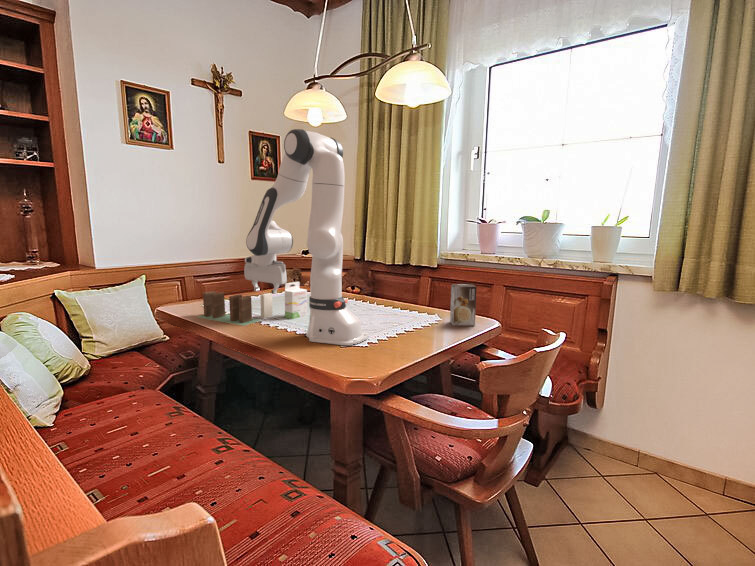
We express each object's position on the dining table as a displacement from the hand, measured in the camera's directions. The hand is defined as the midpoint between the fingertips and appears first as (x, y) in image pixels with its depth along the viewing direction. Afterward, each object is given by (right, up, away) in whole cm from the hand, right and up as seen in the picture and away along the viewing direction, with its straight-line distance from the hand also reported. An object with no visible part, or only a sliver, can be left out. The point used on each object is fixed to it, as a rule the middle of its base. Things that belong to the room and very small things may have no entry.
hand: (265, 292), depth 167 cm
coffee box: (+82, -13, -3) cm, 83 cm away
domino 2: (-19, -10, 0) cm, 22 cm away
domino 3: (-10, -11, -4) cm, 16 cm away
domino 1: (-24, -10, +2) cm, 26 cm away
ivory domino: (0, -11, +1) cm, 11 cm away
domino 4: (-6, -11, -7) cm, 15 cm away
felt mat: (-15, -11, -2) cm, 18 cm away
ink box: (+12, -11, +3) cm, 17 cm away
